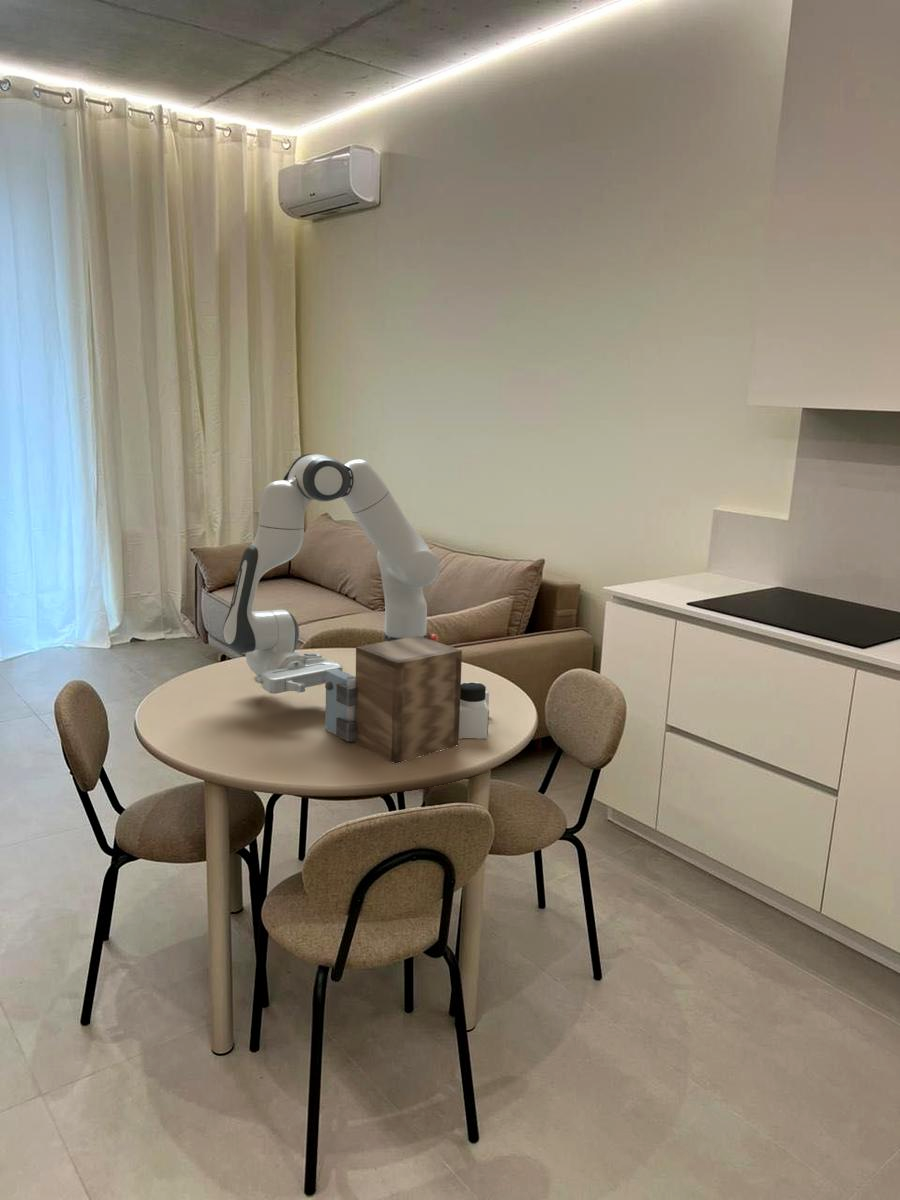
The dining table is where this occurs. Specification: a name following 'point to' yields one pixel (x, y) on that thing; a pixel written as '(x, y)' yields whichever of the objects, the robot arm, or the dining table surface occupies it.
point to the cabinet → (404, 698)
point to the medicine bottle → (473, 711)
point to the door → (333, 706)
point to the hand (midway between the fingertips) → (320, 685)
